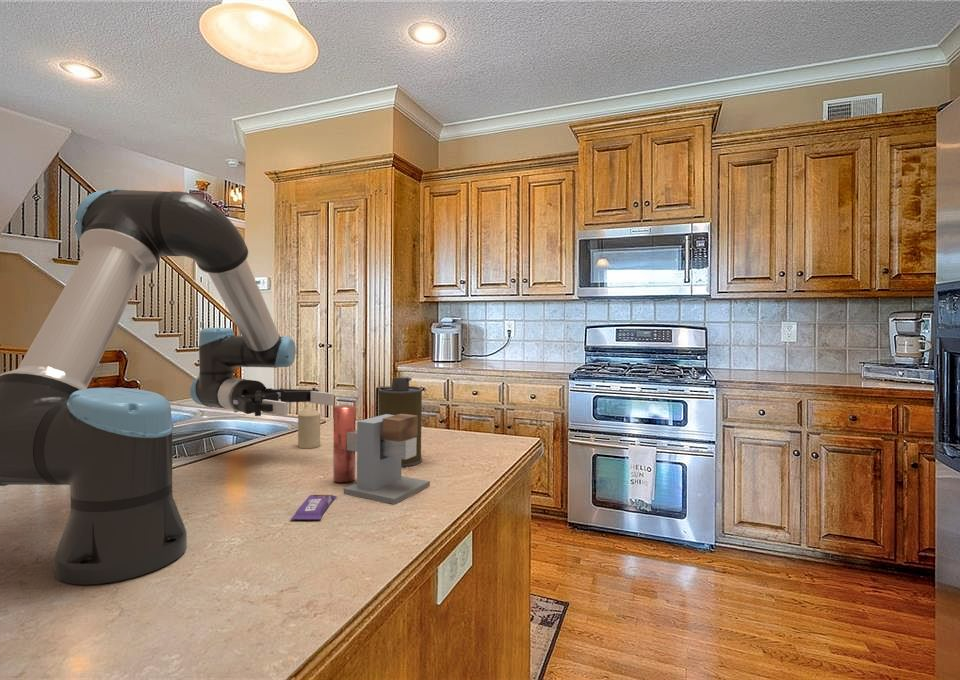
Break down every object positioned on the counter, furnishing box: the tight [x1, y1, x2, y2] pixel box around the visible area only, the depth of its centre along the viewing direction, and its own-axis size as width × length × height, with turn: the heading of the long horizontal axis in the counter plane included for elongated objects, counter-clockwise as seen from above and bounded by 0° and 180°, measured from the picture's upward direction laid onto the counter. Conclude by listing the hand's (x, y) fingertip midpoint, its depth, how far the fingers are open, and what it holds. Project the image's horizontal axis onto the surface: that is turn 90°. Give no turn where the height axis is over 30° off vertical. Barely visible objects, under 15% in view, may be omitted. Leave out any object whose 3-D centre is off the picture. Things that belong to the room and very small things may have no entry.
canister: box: [375, 376, 423, 468], centre depth 123 cm, size 11×10×20 cm
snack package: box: [290, 494, 337, 520], centre depth 92 cm, size 12×2×5 cm
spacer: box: [382, 414, 418, 442], centre depth 101 cm, size 6×4×4 cm, turn 153°
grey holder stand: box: [343, 414, 431, 505], centre depth 102 cm, size 12×12×14 cm
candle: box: [297, 407, 321, 449], centre depth 136 cm, size 6×6×10 cm
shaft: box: [332, 404, 417, 483], centre depth 104 cm, size 4×19×15 cm, turn 63°
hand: (310, 404), depth 112 cm, fingers open, 13 cm apart
